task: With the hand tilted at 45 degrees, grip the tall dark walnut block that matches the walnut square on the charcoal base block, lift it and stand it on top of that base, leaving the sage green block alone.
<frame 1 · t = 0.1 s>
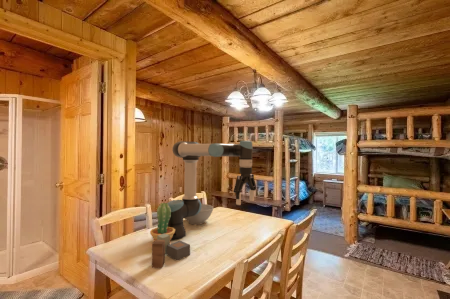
hand: (245, 202, 138), 28 cm above the table, tool pointing down, fingers open, 13 cm apart
charcoal base block: (178, 255, 130), on the table
potted cactus: (162, 243, 146), on the table, touching arm
sage block: (163, 253, 133), on the table
decorative bowl: (196, 222, 190), on the table
walnut block: (158, 265, 118), on the table
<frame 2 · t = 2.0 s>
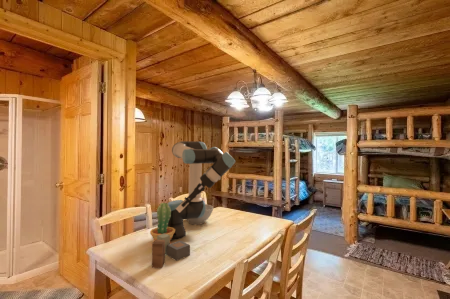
hand: (180, 207, 119), 30 cm above the table, tool tilted 45°, fingers open, 13 cm apart
nothing on the table moved.
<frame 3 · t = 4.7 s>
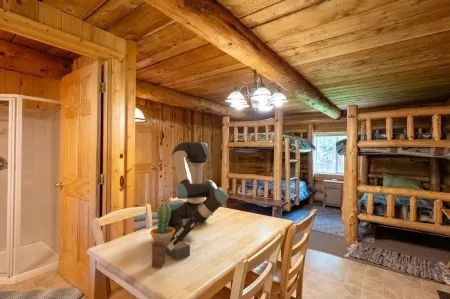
hand: (172, 242, 117), 12 cm above the table, tool tilted 45°, fingers open, 13 cm apart
nothing on the table moved.
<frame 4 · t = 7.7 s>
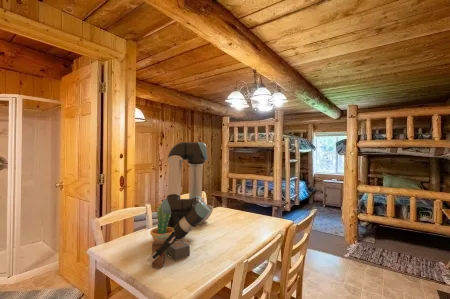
hand: (151, 258, 119), 3 cm above the table, tool tilted 45°, fingers closed on walnut block, 5 cm apart
walnut block: (158, 265, 118), on the table, touching gripper
everything else where it was.
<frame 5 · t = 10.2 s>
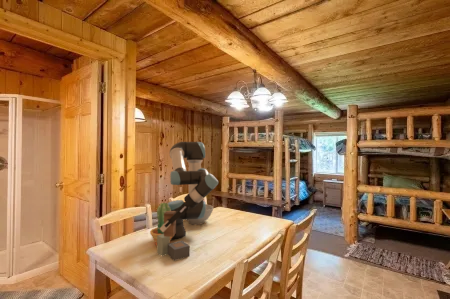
hand: (163, 228, 124), 17 cm above the table, tool tilted 45°, fingers closed on walnut block, 5 cm apart
walnut block: (170, 234, 124), point 14 cm above the table, touching gripper
everything else where it was.
when the fingers open (11 cm above the table, at t = 12.9 s): walnut block drops 2 cm, resting on charcoal base block.
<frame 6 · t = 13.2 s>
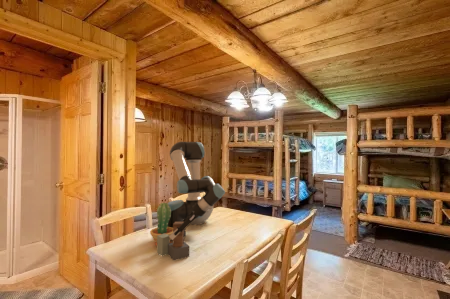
hand: (172, 235, 130), 11 cm above the table, tool tilted 45°, fingers open, 8 cm apart
charcoal base block: (178, 255, 130), on the table, touching walnut block
walnut block: (178, 244, 130), point 6 cm above the table, touching charcoal base block
everything else where it was.
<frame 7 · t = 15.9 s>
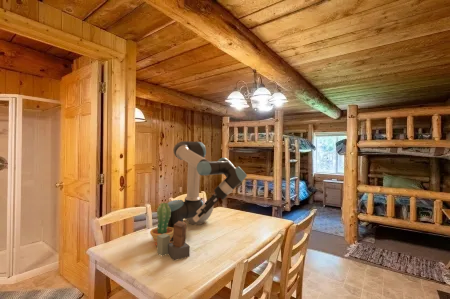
hand: (196, 216, 130), 22 cm above the table, tool tilted 45°, fingers open, 13 cm apart
charcoal base block: (178, 255, 130), on the table
walnut block: (179, 243, 130), point 6 cm above the table, tilted 11°
everything else where it was.
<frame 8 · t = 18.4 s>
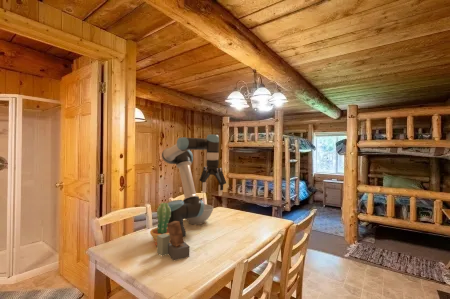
hand: (212, 194, 144), 32 cm above the table, tool pointing down, fingers open, 13 cm apart
charcoal base block: (178, 255, 130), on the table, touching walnut block
walnut block: (177, 243, 130), point 7 cm above the table, tilted 13°, touching charcoal base block
everything else where it was.
at the end: walnut block 0.4 cm off-centre on the charcoal base block, point 6.8 cm above the charcoal base block's base; walnut block tilted 13°; the gripper is holding nothing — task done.
